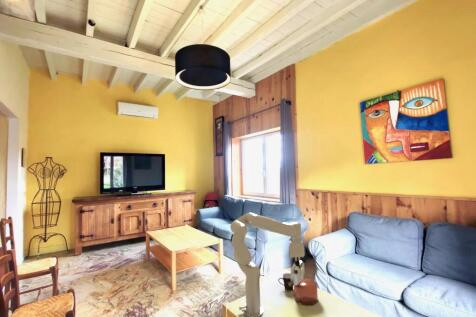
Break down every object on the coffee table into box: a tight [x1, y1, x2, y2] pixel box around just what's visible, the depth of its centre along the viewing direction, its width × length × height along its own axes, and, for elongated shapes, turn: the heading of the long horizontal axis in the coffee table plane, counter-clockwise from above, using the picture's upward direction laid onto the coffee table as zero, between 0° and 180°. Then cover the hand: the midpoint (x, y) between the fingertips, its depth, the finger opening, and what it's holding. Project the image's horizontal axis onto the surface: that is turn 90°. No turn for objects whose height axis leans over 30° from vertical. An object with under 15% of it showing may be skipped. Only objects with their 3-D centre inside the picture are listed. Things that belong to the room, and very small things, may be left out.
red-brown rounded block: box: [293, 277, 319, 306], centre depth 170 cm, size 16×16×11 cm
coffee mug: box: [278, 272, 294, 292], centre depth 186 cm, size 12×9×10 cm
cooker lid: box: [290, 259, 306, 286], centre depth 170 cm, size 17×17×3 cm
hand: (297, 265), depth 170 cm, fingers closed
